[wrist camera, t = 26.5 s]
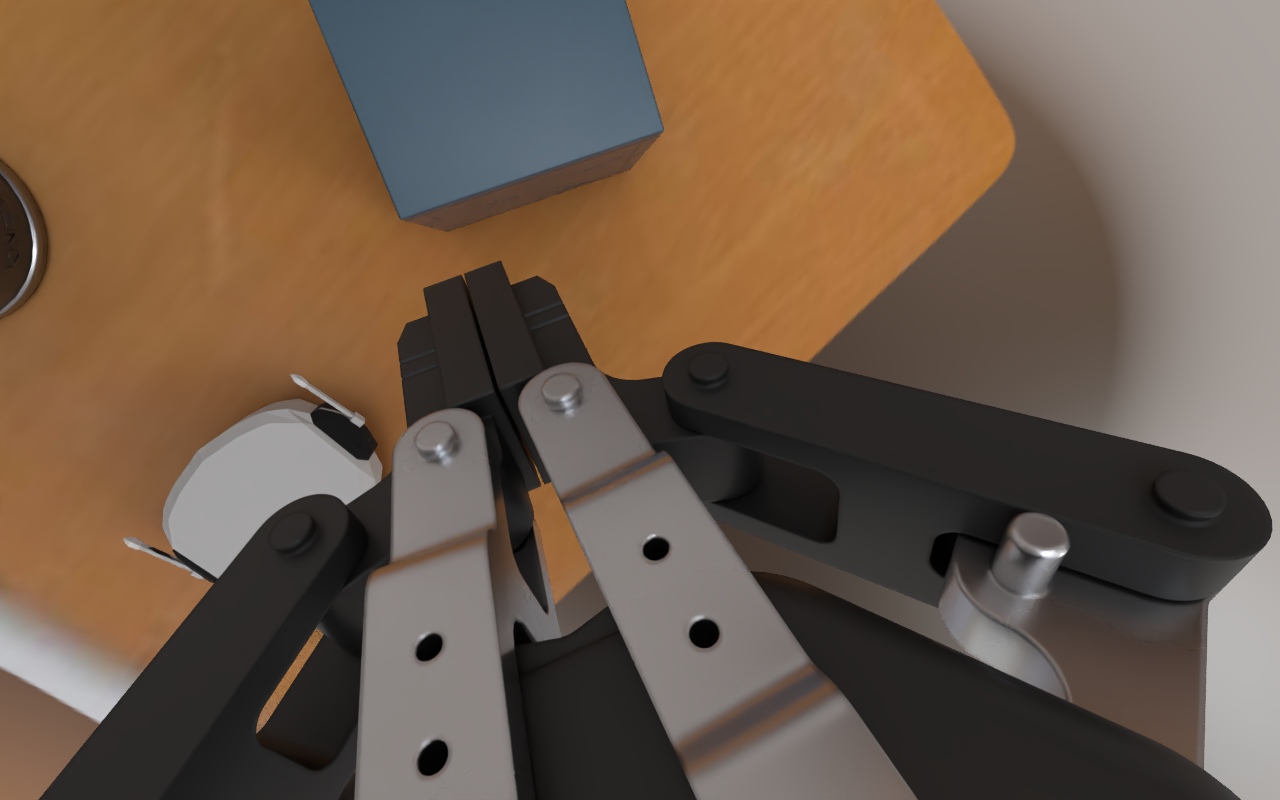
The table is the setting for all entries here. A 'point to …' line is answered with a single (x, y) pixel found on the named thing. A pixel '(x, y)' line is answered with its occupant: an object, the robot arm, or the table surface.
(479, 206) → the caddy
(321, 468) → the robot toy
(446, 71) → the lid
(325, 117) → the table surface
